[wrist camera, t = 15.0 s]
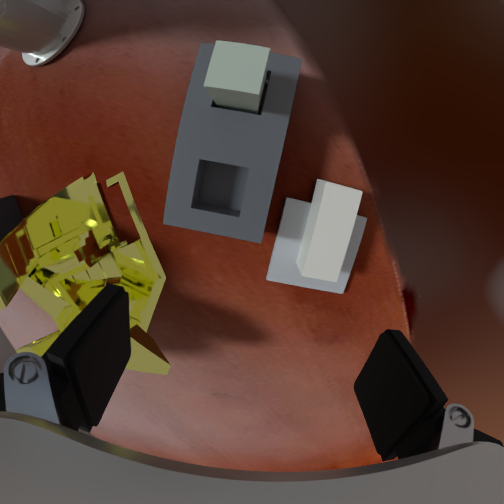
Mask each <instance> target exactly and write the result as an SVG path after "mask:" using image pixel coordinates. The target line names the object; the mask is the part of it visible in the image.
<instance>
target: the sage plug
mask: <svg viewBox="0 0 504 504" xmlns="http://www.w3.org/2000/svg"><path fill="white" fill-rule="evenodd" d="M269 53H270V48H267V47H261V46H256V45H249V44H243V43H236V42H227V41H218V40H216V43H215V46H214V50H213V53H212V57H211V60H210V64H209V67H208V71H207V75H206V79H205V82H204V87H205V89H206V90H207V92H208V93H209V95H210V96H211V97H212V99H213V100H214V102H215V103H216V105H217V106H218V108H222V109H228V110H234V111H240V112H245V113H251V114H256V115H258V112H259V108H260V103H261V99H262V95H263V91H264V86H265V81H266V74H267V67H268V60H269Z"/></svg>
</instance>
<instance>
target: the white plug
mask: <svg viewBox="0 0 504 504" xmlns="http://www.w3.org/2000/svg"><path fill="white" fill-rule="evenodd" d="M362 193H363V191H360V190H356V189H353V188H350V187H347V186H343V185H339V184H336V183H332V182H328V181H324V180H321V179H317V181H316V186H315V190H314V194H313V198H312V203H311V207H310V211H309V215H308V219H307V223H306V227H305V231H304V235H303V239H302V242H301V246H300V250H299V254H298V258H297V261H296V263H297V266H298V268H299V271H300V273H301V276H304V277H309V278H315V279H321V280H326V281H332V282H337V279H338V276H339V273H340V270H341V267H342V264H343V261H344V257H345V254H346V251H347V247H348V244H349V241H350V237H351V234H352V230H353V227H354V223H355V220H356V216H357V212H358V208H359V204H360V201H361V197H362Z"/></svg>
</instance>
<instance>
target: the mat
mask: <svg viewBox="0 0 504 504" xmlns="http://www.w3.org/2000/svg"><path fill="white" fill-rule="evenodd" d="M310 207H311V203H310V202H306V201H301V200H297V199H293V198H289V197H286V199H285V203H284V207H283V212H282V216H281V220H280V224H279V228H278V232H277V236H276V241H275V245H274V249H273V253H272V257H271V261H270V265H269V269H268V273H267V277H266V279H267V280H269V281H275V282H280V283H285V284H291V285H296V286H301V287H307V288H312V289H318V290H323V291H329V292H335V293H340V294H343V292H344V289H345V287H346V284H347V281H348V278H349V275H350V272H351V269H352V267H353V264H354V261H355V257H356V254H357V251H358V248H359V245H360V242H361V239H362V235H363V232H364V229H365V225H366V222H367V218H366V217H363V216H359V215H357V216H356V220H355V223H354V227H353V230H352V234H351V237H350V241H349V244H348V247H347V251H346V254H345V257H344V261H343V264H342V267H341V270H340V273H339V276H338V279H337V282H332V281H326V280H321V279H315V278H309V277H304V276H301V273H300V271H299V268H298V266H297V263H296V261H297V258H298V254H299V250H300V246H301V242H302V239H303V235H304V231H305V227H306V223H307V219H308V215H309V211H310Z"/></svg>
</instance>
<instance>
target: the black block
mask: <svg viewBox="0 0 504 504" xmlns="http://www.w3.org/2000/svg"><path fill="white" fill-rule="evenodd" d="M22 220H23V217H22V214H21V212H20V209H19V207H18V204H17V201H16V198H15V196H14V195H11V196H7V197H4V198H0V241H1V240H2V239H3V238H4V237H5V236H6V235H7V234H8V233H9V232H10V231H11V230H12V229H14V228H15V227H16V226H17V225H18V224H19V223H20V222H21V221H22Z"/></svg>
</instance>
